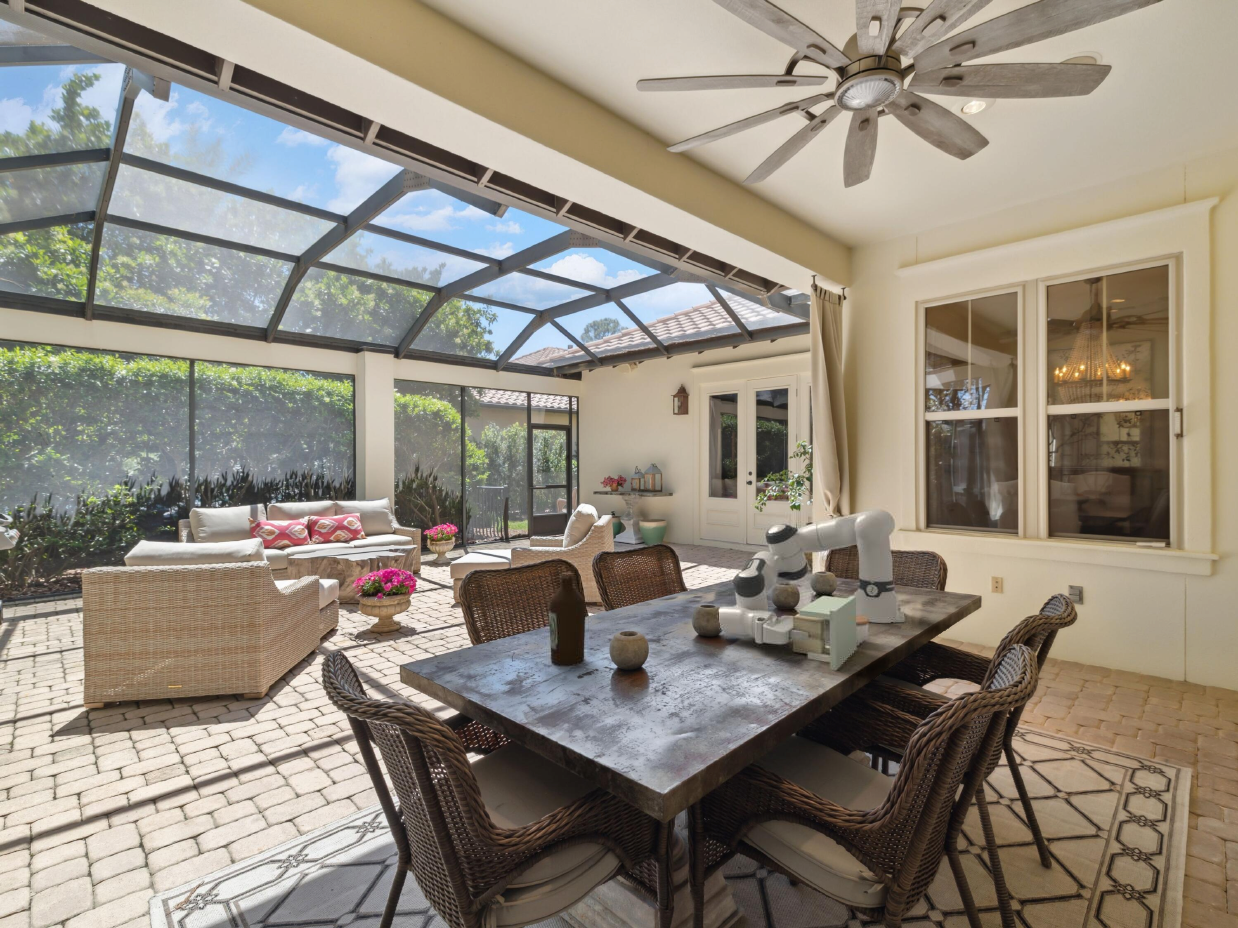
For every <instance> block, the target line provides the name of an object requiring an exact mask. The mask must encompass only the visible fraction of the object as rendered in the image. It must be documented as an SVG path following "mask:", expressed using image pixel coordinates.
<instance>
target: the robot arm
mask: <svg viewBox="0 0 1238 928" xmlns="http://www.w3.org/2000/svg"><path fill="white" fill-rule="evenodd" d="M895 527H896V524H895V519H894V517H893V515H892V514H891V513H889V512H888V511H887V510H885V509H881V508H875V509H872V510H870V509H869V510H867V511H862V512H857V513H853V514H849V515H844V516H838V517H835V518H831V519H826V520H822V521H818V522H814V523H811V524H807V525H805V526H802V527H799V528H796V527H795V526H792V525H789V524H785V523H780V524H776V525H773V526H772V527H770V528H768V530H767V531H766V533H765V540H766V543H767V545H768V548H769V551H766V550H763V551H762V550H761V551H759V552H757V553H755V555H753V556H752V557H751V559H749V560H748V561H746V563H745V565H744V567H743V568H742V569H741V571H739V572H738V573H737V574H736V575H735V576H734V577H733V579H732V584H733V589H734V593H735V594H734V595H735V601H736V605H734V606H720V607H719V609H718V611H717V613H718V612H719V623H720V628H721V630H722V631H721V630H720V631H721V632H723V633H726V634H729V635H731V636H737V637H741V638H743V637H750V638H752V639H754V640H755V643H756V644H764V643H766V644H774V645H785V644H788V643H789V641H791V640H793V638H794V639H799V638H804V639H808V638H809V637H810V633H809V632H806V631H803V632H802V631H796V630H793V629H794V627H793V617H794V616H795V615H781V616H780V617H779V616H777V615H776V612H774V611H770V610H769V608H768V602H767V601H768V599H767V591H770V590H772V589H773V587H774V586H775V585H776V582H777V580H778V579H783V580H785V581H787V582H788V581H790V582H795V581H796V582H797V581H799V580H801V579H803V578H805V577H806V575H807V574H808V572H809V568H808V563H807V561H806V557H805V554H804V553H807V554H808V553H809V554H810V553H812V554H813V553H821V552H828V551H832V550H833V551H834V550H837V549H842V548H843V549H844V548H847V547H852V546H855V545H856V546H857V551H858V571H859V572H858V575H859V576H858V578H857V587H858V589H857V590H856V591H855V592H854V593H853V596H856V615H861V616H864V617H866V618H868V619H869V623H877V624H879V623H880V624H889V623H890V624H892V623H891V622H893V623H906V619H905V611H904V610H902V609H901V607H900V606H899V604H898V600H899V598H898V596H897V594H896V592H895V585H896V584H895V581H894V577H893V573H894V572H893V555H892V550H891V543H890V542H891V541H890V536H891V535H892V533H894V530H895ZM720 628H719V629H720Z"/></svg>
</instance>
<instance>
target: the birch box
mask: <svg viewBox="0 0 1238 928" xmlns="http://www.w3.org/2000/svg"><path fill="white" fill-rule="evenodd" d="M793 616H794V617H793V627H794V629H793V630H796V631H802V632H803V631H806V632H809V633H810V637H809V638H808V639H804V638H799V639H794V638H793V639H792V651H793V652H795V653H800V654H801V653H802V654H806V655H808V653H809V652H813V653H819V654H824V655H825V653H826V652H825V646H826V619H821V618H814V617H806V616H799V613H797V614H795V615H793Z"/></svg>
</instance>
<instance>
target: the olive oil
mask: <svg viewBox="0 0 1238 928" xmlns="http://www.w3.org/2000/svg"><path fill="white" fill-rule="evenodd" d="M573 574H574V573H573V572H571V571H568V572H562V573H561V577H560V587H559V588H558V589H557V591H556V592H555V593H554V594H553V595H552V596H551V598H550V601H549V604H548V621H549V623H548V625H549V641H550V661H551V663H552V664H554V665H556V664H557V665H556V666H562V665H563V666H564V667H566V666H568V667H569V666H575V665H579V664H582V663H583V662H584V661H585V637H586V635H585V633H586V613H587V612H586V611H587V608H586V607H587V604H586V602H585V599H584V596H582V594H581V593H580V592H579V591H578V590H577V589H576V588H575V586H574V580H573V579H574V578H573ZM581 662H582V663H581Z"/></svg>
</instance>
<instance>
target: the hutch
mask: <svg viewBox="0 0 1238 928" xmlns="http://www.w3.org/2000/svg"><path fill="white" fill-rule="evenodd" d="M798 614H799V616H806V617H814V618H821V619H825V620H828V621H829V645H825V653H826V654H825V653H824V654H819V653H813V652H809V653H808V654H807V659H809V660H814V661H820V662H825V663H829V670H830V669H831V670H830V671H834V670H836V671H837V670H839V668H840V667H841V666H842V665H843V664H844V663H845V662H846V661H847V660H848V659H849V658H850V657H851V656H852V655H853V654H854V653H855V652H856V651H858V650H857V649H858V648H857V646H858V645H857V635H856V596H854V595H850V596H849V597H847V598H844V597H835V596H827V595H822V596H821V597H819V598H817V599H815V600H813V601H812V602H810V603H809V604H807V605H806V606H804V607H802V608H801V609H799V612H798ZM855 650H856V651H855ZM854 651H855V652H854ZM827 653H828V654H827ZM852 653H853V654H852ZM850 655H851V656H850ZM848 657H849V658H848ZM847 658H848V659H847ZM845 660H846V661H845ZM843 662H844V663H843ZM841 664H842V665H841Z"/></svg>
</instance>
